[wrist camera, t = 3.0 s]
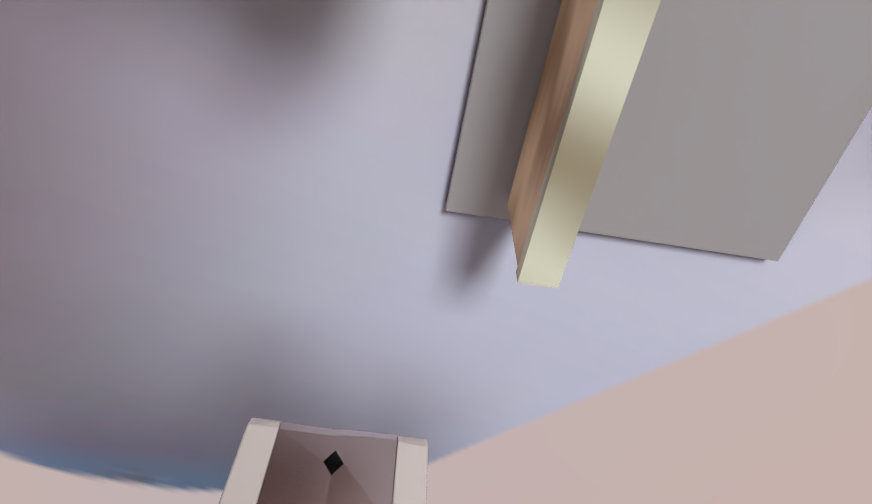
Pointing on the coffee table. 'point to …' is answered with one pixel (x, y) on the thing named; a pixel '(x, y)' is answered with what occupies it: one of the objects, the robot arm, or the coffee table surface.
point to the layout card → (686, 119)
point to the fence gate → (572, 128)
